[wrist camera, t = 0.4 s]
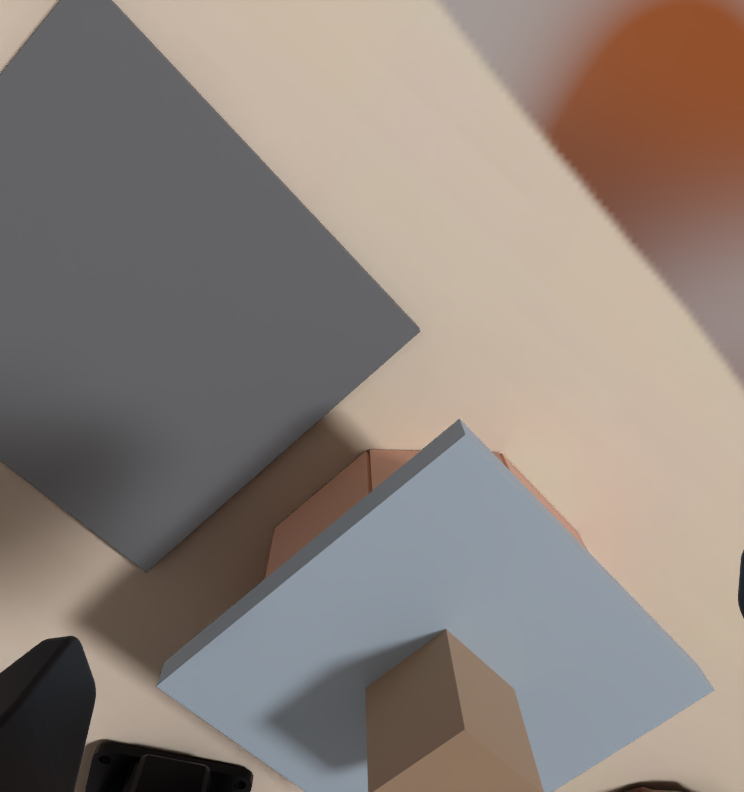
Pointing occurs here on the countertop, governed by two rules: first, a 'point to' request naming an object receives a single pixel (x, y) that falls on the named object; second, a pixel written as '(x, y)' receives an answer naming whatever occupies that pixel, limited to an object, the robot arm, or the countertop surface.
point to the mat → (158, 291)
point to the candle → (647, 790)
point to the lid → (436, 644)
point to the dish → (349, 492)
